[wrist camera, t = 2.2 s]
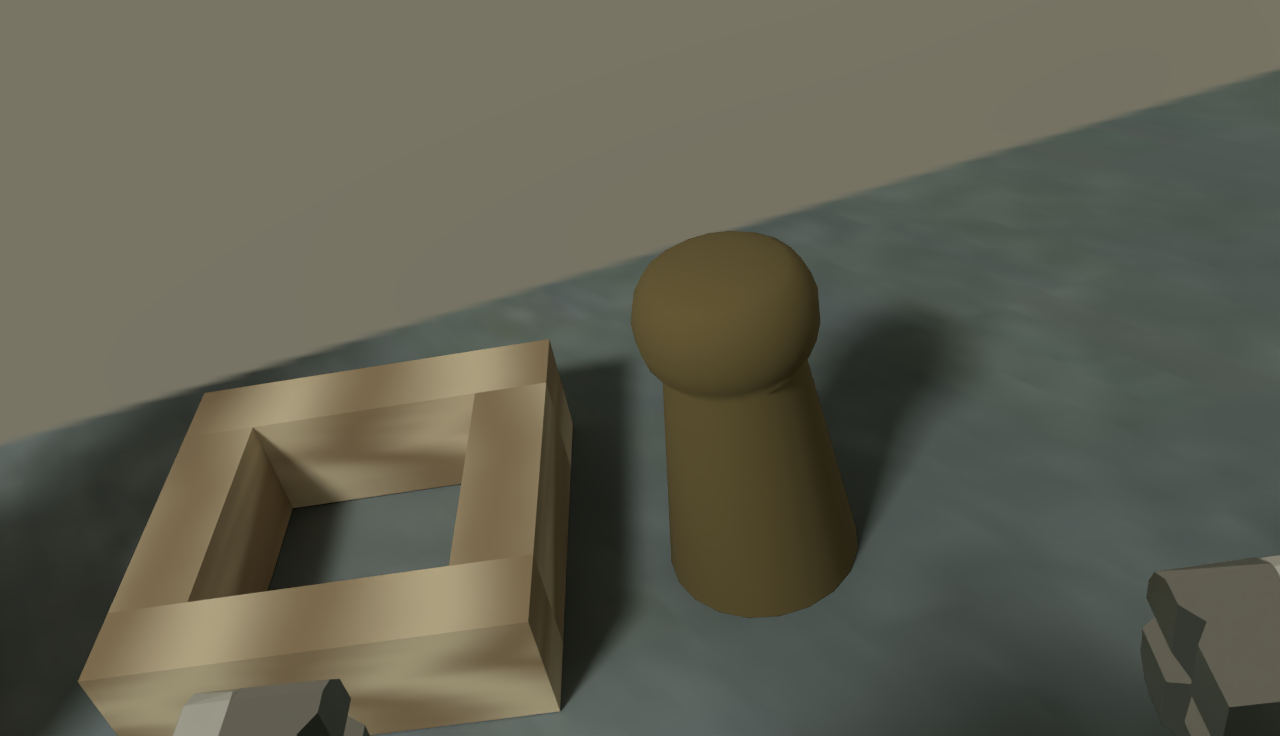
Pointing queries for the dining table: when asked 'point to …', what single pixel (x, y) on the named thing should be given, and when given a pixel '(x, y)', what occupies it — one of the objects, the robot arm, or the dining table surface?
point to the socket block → (366, 607)
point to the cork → (744, 424)
